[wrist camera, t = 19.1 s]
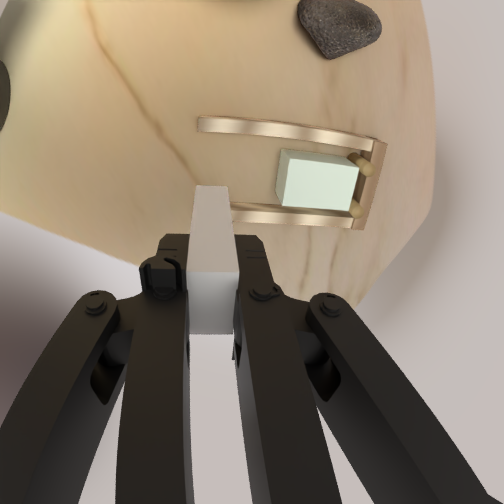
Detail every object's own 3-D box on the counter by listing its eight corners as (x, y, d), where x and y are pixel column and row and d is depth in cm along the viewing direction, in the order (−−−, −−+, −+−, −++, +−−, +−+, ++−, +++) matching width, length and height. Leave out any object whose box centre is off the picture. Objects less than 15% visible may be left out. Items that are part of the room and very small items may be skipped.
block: (274, 190, 39) (282, 205, 35) (280, 148, 36) (289, 158, 31) (335, 195, 40) (348, 210, 36) (343, 156, 37) (359, 167, 33)
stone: (283, 38, 30) (330, 82, 28) (279, -11, 22) (337, 28, 20) (340, 22, 30) (388, 62, 28) (345, -22, 21) (403, 15, 19)
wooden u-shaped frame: (195, 211, 39) (193, 229, 35) (199, 115, 32) (196, 121, 28) (355, 220, 43) (369, 237, 39) (376, 138, 35) (395, 148, 31)
